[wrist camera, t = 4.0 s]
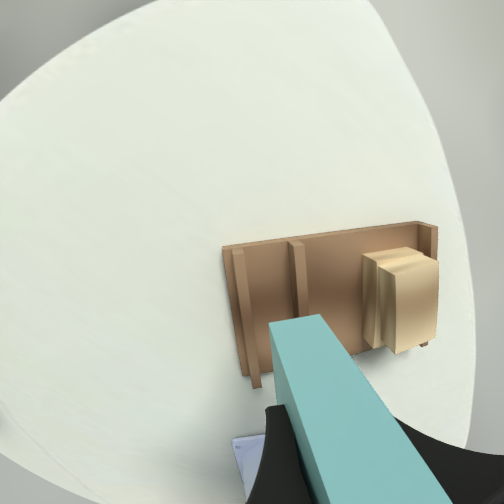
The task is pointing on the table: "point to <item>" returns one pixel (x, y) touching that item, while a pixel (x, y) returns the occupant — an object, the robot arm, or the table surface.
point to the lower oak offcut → (376, 291)
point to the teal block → (343, 423)
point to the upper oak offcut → (408, 301)
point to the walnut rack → (308, 284)
